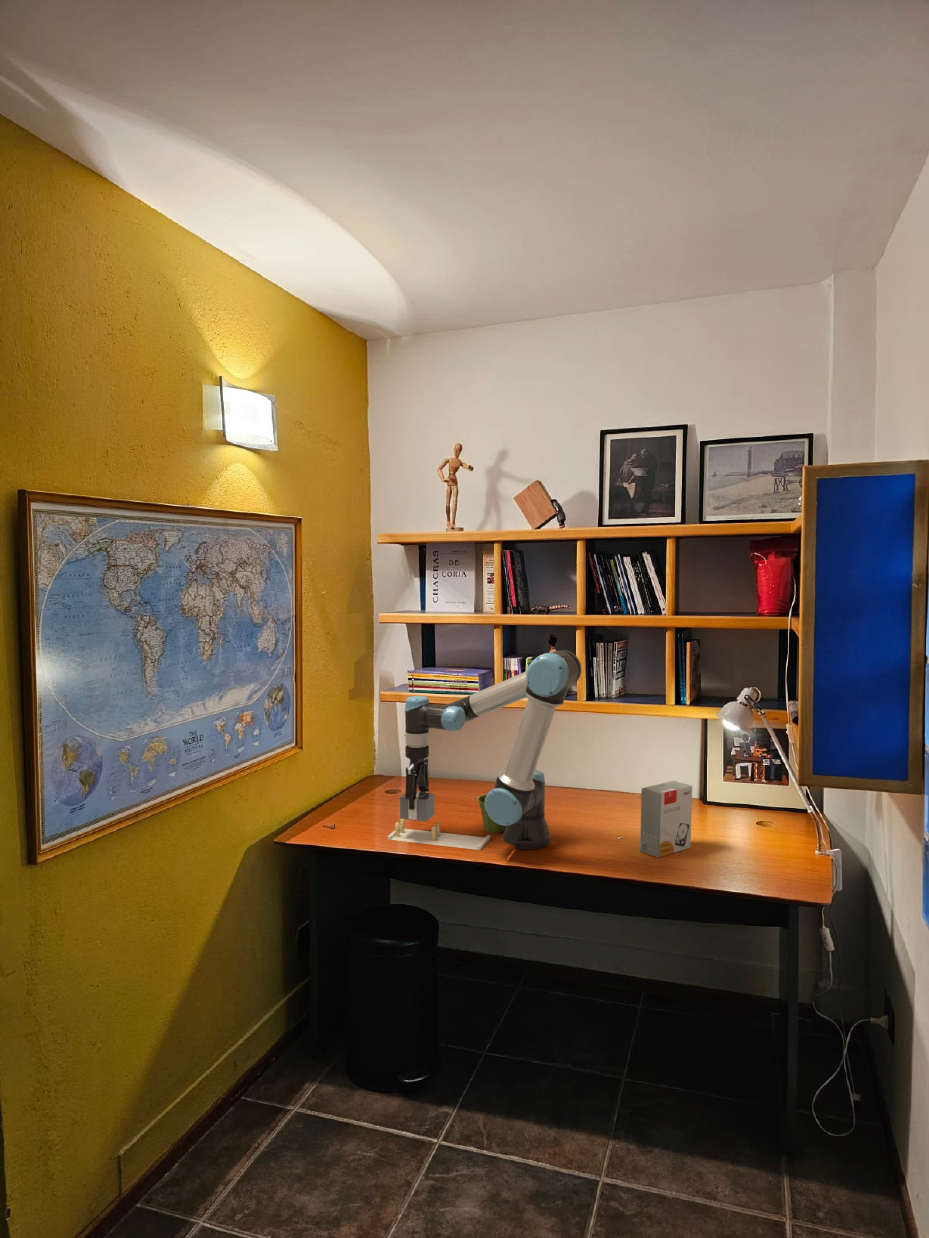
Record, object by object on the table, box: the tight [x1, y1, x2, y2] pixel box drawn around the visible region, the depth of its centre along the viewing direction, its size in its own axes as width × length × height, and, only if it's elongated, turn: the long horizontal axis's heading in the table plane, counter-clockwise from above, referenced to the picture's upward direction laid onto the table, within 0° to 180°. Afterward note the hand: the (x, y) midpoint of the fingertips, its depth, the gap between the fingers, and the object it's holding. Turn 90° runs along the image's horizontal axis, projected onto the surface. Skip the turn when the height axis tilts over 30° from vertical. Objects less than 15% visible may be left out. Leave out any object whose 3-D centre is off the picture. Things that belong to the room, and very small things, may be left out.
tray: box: [387, 819, 491, 851], centre depth 255 cm, size 31×11×6 cm, turn 71°
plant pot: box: [476, 793, 506, 834], centre depth 263 cm, size 12×12×11 cm
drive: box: [399, 791, 435, 823], centre depth 256 cm, size 9×7×7 cm
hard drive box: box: [639, 780, 693, 858], centre depth 246 cm, size 16×8×20 cm, turn 126°
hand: (417, 815), depth 257 cm, fingers closed on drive, 7 cm apart
